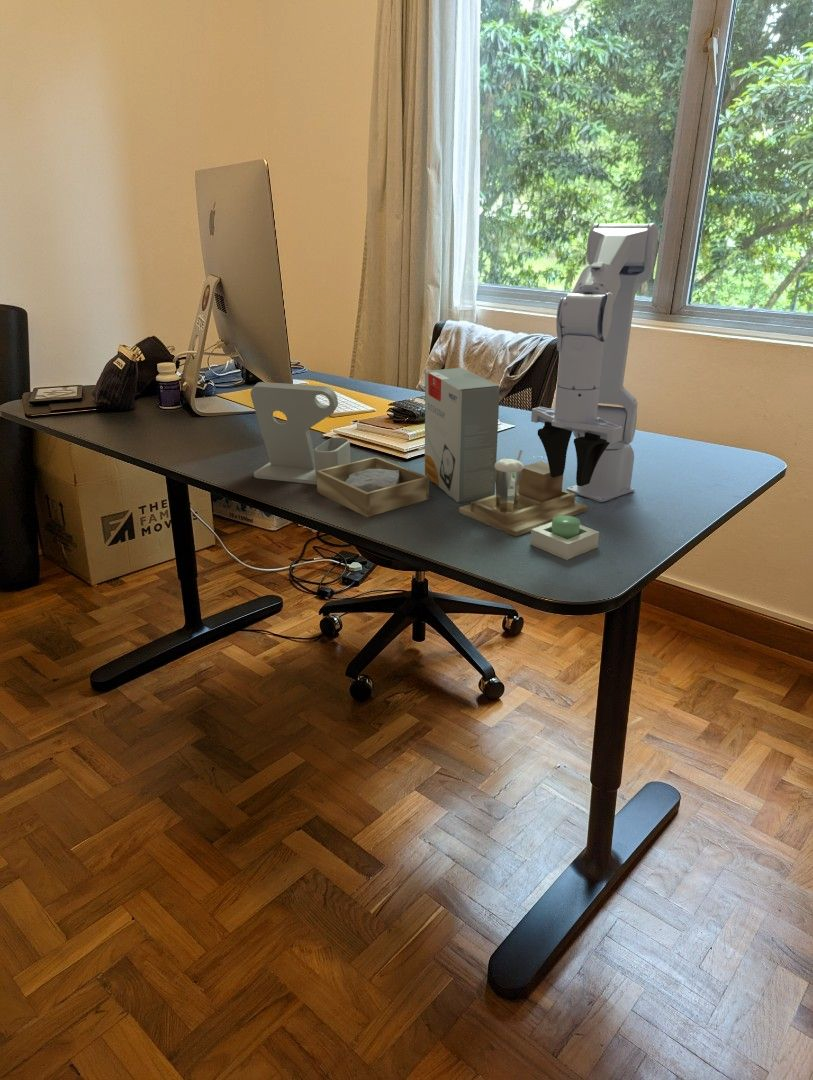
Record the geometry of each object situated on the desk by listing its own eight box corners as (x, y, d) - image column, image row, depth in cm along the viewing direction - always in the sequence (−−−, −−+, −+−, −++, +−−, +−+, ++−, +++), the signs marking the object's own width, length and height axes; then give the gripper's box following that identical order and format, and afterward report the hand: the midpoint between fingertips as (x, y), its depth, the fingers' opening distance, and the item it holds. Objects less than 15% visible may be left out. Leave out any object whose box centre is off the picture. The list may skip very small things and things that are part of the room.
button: (563, 528, 113) (564, 513, 112) (584, 536, 110) (585, 521, 109) (545, 535, 111) (546, 519, 110) (566, 543, 108) (567, 528, 107)
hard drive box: (423, 476, 141) (423, 370, 133) (459, 471, 143) (462, 367, 135) (456, 503, 128) (459, 387, 120) (496, 497, 130) (502, 384, 122)
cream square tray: (561, 532, 116) (562, 518, 115) (597, 547, 111) (599, 531, 110) (530, 544, 112) (531, 529, 111) (566, 560, 107) (568, 544, 106)
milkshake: (529, 511, 122) (533, 453, 118) (509, 520, 118) (512, 460, 114) (506, 504, 125) (509, 447, 121) (486, 513, 121) (489, 454, 117)
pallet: (529, 490, 134) (530, 477, 133) (586, 510, 124) (588, 497, 123) (458, 512, 124) (459, 498, 123) (515, 536, 115) (516, 522, 114)
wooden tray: (376, 477, 141) (376, 456, 139) (428, 499, 130) (429, 477, 128) (317, 492, 133) (316, 470, 131) (367, 517, 122) (366, 494, 121)
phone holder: (356, 470, 145) (353, 377, 137) (336, 487, 136) (331, 388, 128) (275, 462, 149) (268, 371, 142) (250, 477, 141) (241, 382, 133)
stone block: (344, 517, 126) (401, 505, 125) (336, 491, 125) (394, 478, 124) (351, 497, 138) (404, 486, 136) (345, 472, 136) (398, 461, 135)
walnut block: (538, 494, 129) (541, 461, 127) (560, 502, 126) (563, 468, 123) (518, 500, 126) (520, 467, 124) (540, 509, 123) (543, 474, 120)
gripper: (518, 381, 105) (513, 473, 110) (602, 399, 94) (592, 500, 100) (552, 374, 109) (545, 463, 114) (636, 391, 98) (624, 488, 104)
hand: (569, 480), depth 107 cm, fingers open, 4 cm apart
